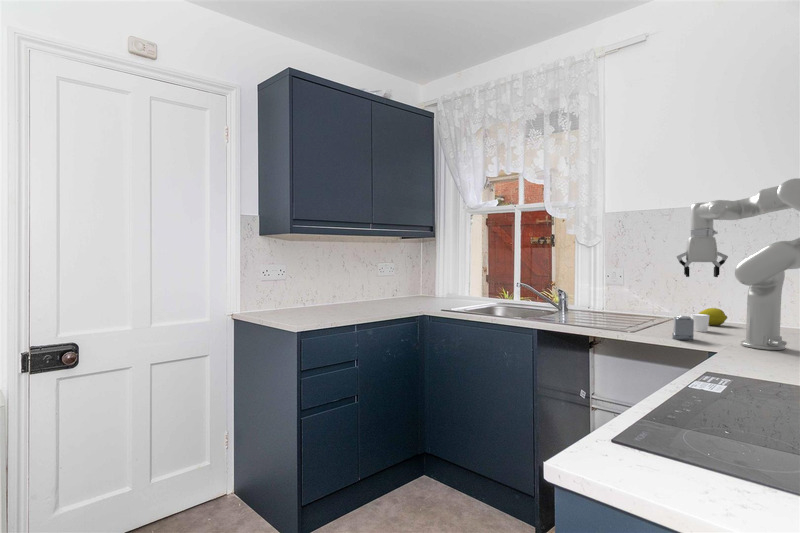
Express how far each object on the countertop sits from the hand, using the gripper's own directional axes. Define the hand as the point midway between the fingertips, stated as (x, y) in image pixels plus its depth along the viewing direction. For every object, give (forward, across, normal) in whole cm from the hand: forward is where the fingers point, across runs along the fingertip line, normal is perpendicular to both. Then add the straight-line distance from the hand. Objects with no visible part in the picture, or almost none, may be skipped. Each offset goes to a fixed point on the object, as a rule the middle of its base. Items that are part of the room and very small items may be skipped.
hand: (701, 276), depth 184 cm
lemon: (+24, -12, -33) cm, 43 cm away
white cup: (+24, -2, -15) cm, 28 cm away
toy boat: (+24, +7, +2) cm, 25 cm away
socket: (+22, +8, +8) cm, 25 cm away
